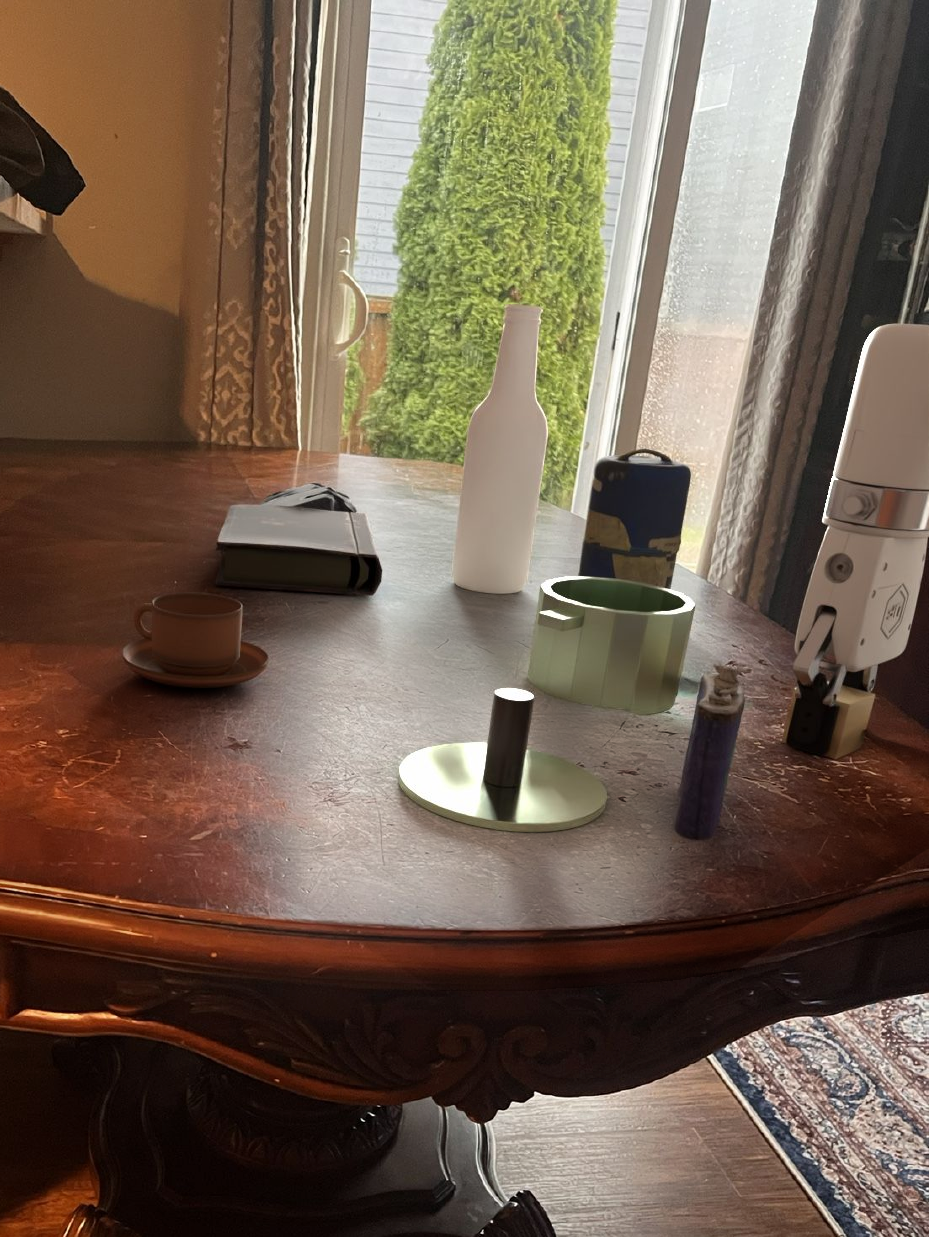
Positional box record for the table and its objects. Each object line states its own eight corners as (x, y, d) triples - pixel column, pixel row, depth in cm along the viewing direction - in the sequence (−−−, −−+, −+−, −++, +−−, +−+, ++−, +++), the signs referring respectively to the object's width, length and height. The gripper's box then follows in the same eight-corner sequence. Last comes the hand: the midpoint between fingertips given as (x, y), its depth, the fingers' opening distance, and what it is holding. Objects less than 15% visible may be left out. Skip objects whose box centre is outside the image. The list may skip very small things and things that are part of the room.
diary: (368, 551, 149) (371, 511, 147) (380, 598, 126) (384, 552, 124) (222, 541, 148) (223, 500, 146) (207, 587, 125) (208, 540, 123)
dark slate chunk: (361, 509, 177) (363, 476, 175) (363, 537, 157) (366, 501, 155) (260, 501, 177) (261, 469, 175) (249, 528, 157) (250, 492, 155)
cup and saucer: (103, 690, 92) (102, 614, 90) (145, 649, 103) (145, 580, 101) (252, 707, 91) (255, 630, 89) (278, 663, 102) (282, 594, 100)
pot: (718, 693, 103) (739, 598, 100) (600, 732, 92) (619, 626, 88) (599, 656, 111) (615, 568, 108) (477, 687, 100) (490, 589, 96)
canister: (673, 643, 118) (709, 459, 111) (580, 636, 118) (610, 451, 110) (648, 618, 127) (680, 446, 119) (561, 612, 126) (588, 439, 119)
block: (861, 748, 92) (875, 694, 90) (835, 760, 89) (850, 704, 88) (807, 731, 95) (820, 678, 93) (780, 742, 92) (793, 688, 90)
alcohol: (507, 576, 141) (544, 306, 129) (538, 595, 133) (580, 309, 121) (439, 576, 138) (469, 301, 126) (466, 594, 131) (501, 303, 119)
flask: (676, 791, 81) (707, 642, 77) (719, 799, 80) (754, 649, 76) (668, 844, 73) (703, 681, 69) (717, 853, 72) (755, 689, 68)
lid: (645, 807, 78) (665, 706, 75) (516, 861, 69) (533, 748, 66) (486, 744, 87) (499, 651, 84) (354, 784, 78) (363, 682, 75)
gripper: (883, 526, 77) (817, 781, 84) (978, 509, 88) (913, 736, 95) (777, 507, 82) (723, 750, 89) (880, 493, 93) (824, 710, 100)
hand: (822, 740), depth 92 cm, fingers closed on block, 4 cm apart
